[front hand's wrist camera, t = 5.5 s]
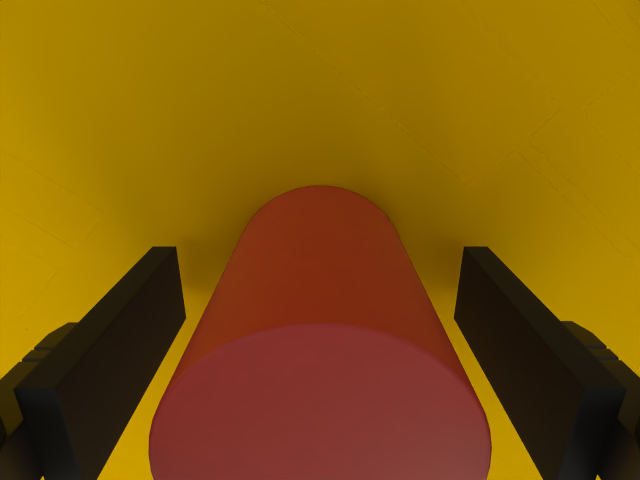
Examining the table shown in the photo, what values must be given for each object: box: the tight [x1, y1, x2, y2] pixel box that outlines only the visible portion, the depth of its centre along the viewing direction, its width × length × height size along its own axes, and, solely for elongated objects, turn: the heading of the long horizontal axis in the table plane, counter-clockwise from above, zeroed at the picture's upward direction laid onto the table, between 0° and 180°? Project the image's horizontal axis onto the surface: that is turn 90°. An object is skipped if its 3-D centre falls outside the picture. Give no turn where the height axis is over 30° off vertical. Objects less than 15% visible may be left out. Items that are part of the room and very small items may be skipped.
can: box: [149, 186, 492, 480], centre depth 11 cm, size 6×6×8 cm
